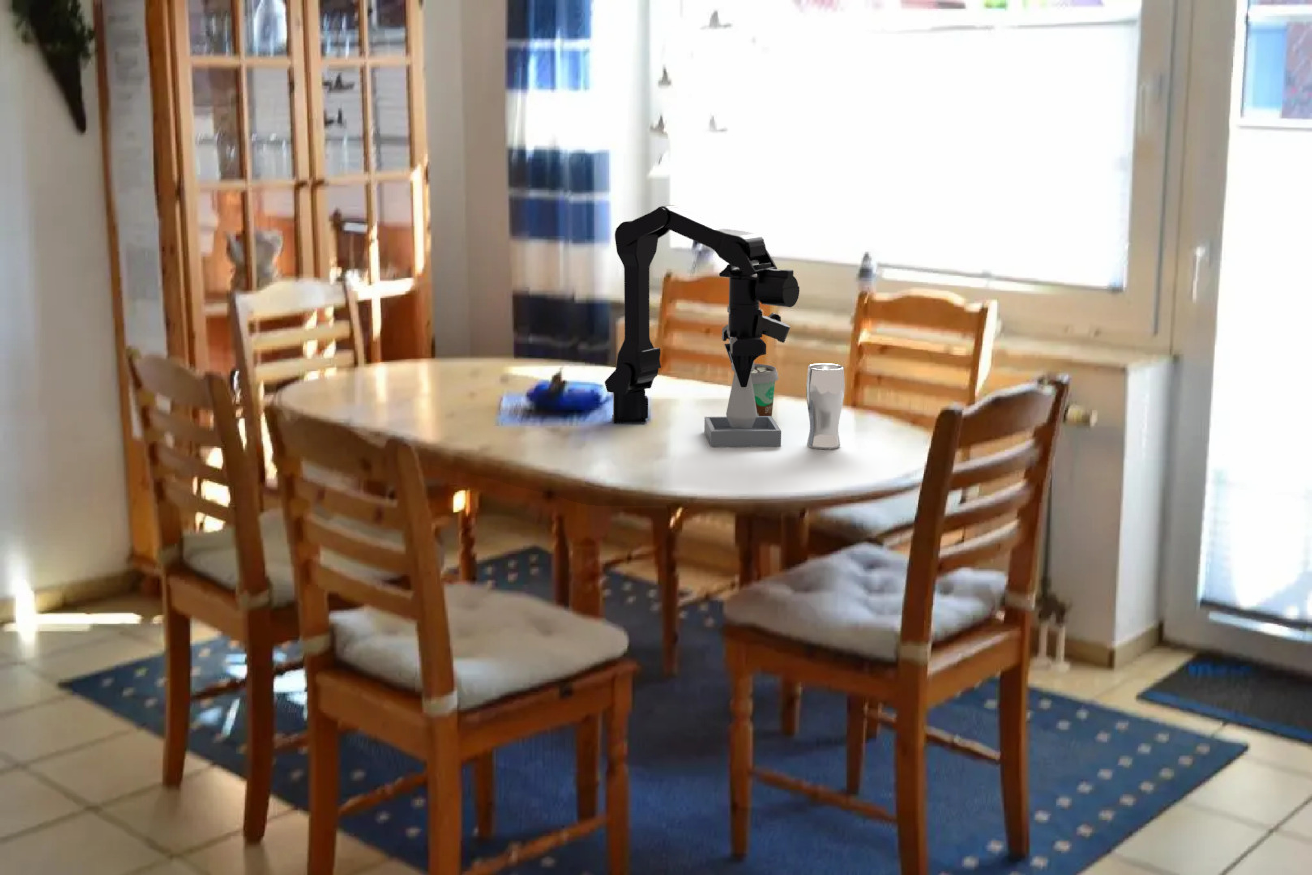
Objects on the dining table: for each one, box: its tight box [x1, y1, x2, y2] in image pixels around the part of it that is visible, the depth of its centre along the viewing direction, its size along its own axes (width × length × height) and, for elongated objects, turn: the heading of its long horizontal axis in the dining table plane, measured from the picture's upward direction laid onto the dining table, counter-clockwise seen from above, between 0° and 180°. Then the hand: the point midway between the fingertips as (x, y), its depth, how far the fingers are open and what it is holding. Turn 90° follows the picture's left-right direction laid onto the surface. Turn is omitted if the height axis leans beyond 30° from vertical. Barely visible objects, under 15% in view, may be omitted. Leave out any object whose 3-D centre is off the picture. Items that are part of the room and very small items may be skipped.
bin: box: [703, 415, 782, 448], centre depth 296 cm, size 13×13×3 cm
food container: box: [751, 363, 780, 417], centre depth 315 cm, size 12×6×10 cm, turn 168°
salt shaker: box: [725, 361, 757, 429], centre depth 294 cm, size 6×6×13 cm
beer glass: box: [805, 363, 845, 451], centre depth 289 cm, size 7×7×15 cm
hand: (742, 385), depth 294 cm, fingers closed on salt shaker, 4 cm apart
